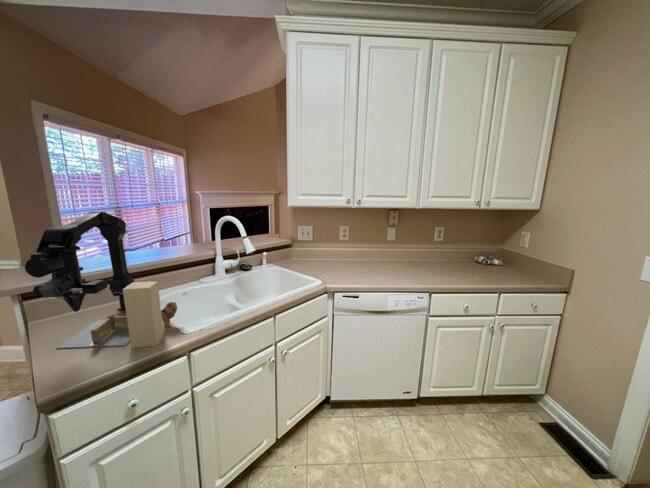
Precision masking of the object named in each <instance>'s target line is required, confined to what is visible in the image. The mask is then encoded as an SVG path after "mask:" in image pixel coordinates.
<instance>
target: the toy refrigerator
mask: <svg viewBox="0 0 650 488" xmlns="http://www.w3.org/2000/svg"><path fill="white" fill-rule="evenodd" d="M159 291H160V290H159V283H158V281H155V280H154V281H135V282H133V283H131V284H130V285H128V286H127V287H125V288H124V289H123V296H124V302H125V309H126V310H125V314H126V315H125V316H127V322H128V328H129V335H130V347H131V348H133V349H134V348H136V349H137V348H146V347H147V348H149V347H156V346H158V344H159V343H160V342H161V340H162V339H163V338H164V337H165V334H164V333H165V331H164V322H163V321H162V314H161V311H162V309H161V300H160V292H159Z"/></svg>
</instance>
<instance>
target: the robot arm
mask: <svg viewBox="0 0 650 488" xmlns="http://www.w3.org/2000/svg"><path fill="white" fill-rule="evenodd" d="M94 228H96V229H98V230H99V234H100V235H101V236H102V237H103V239H104V240H106V243H107V247H108V253H109V257H110V264H111V269H112V274H113V275H112V277H111V278H110V279H109V280H108V281H107V280H105V279H93V280H91V281H89V282H87V283H85V282H86V281H87V280H86V278H85V277H84V278H83V276H82V273H81V272H82V271H83V270H84V267H83V266H80V263H79V259H78V254H77V253H78V252H77V251H80V250H81V246H78V245H77V244H78V243H79V242H81V240H82V236H83V235H84V234H86V233H87V232H89V231H91V230H92V229H94ZM126 233H127V223H126V222H125V220H123V219H122V218H120V217H118V216H115V215H112V214H109V213H107V212H105V211H103V210H102V211H100V210H99V211H96V210H95V211H90V212H88V213H87V214H86V215H83V216H82V217H80V218H78V219H76V220H74V221H72V222H70V223H68V224H64V225H59V226H54V227H51V228H46V229H45V230H44V231H43V234H42V235H41V239H40V241H39V243H38V247H37V249H36V253H31V254H30V255H29V257H30V258H29V259H28V260H27V261H26V263H25V266H24V269H25V272H26V273H27V274H28V275H29V276H31V277H34V278H43V277H46V276H48V275H51V279H50V280H47V281H45V282H42V283H38V284H37V285H34V286H33V289H32V291H33V295H34V296H43V297H44V298H61V299H62V300H64V301H65V302H66V303H67V305H68V306H69V307H70V308H71V310H72V311H73V312H79V311H80V309H81V308H82V307H81V306H82V305H83V301H84V299H85V296H86V295H91V294H92V295H93V294H94V295H95V294H98V293H100V292H102V291H103V290H105V289H107V288H109V290H110V291H111V294H112V296H113V297H118V300H119V307H117V309H116V310H117V311H126V309H125V302H124V296H123V289H124V288H125V287H127V286H128V285H130V284H131V283H133V282H136V281H135V279H134V276H133V275H132V274H131V273H130V272H129V271H128V264H127V259H126V253H125V248H124V242H123V241H124V240H123V238H124V237H125V235H126ZM108 286H109V287H108Z"/></svg>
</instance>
